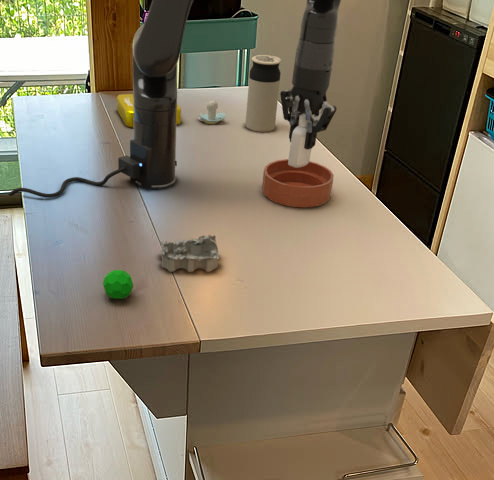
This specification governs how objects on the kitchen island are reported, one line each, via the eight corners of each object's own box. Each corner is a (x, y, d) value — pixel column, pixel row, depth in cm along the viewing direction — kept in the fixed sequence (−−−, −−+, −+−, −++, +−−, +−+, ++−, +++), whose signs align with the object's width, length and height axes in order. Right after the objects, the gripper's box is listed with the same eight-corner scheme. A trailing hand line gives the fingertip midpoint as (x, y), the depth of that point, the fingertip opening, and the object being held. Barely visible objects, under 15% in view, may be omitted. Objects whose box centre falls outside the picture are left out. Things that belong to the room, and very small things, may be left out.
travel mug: (250, 133, 188) (257, 63, 177) (241, 122, 194) (246, 54, 184) (278, 131, 190) (286, 62, 179) (268, 121, 196) (275, 54, 186)
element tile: (115, 109, 197) (115, 92, 195) (168, 107, 201) (168, 90, 199) (127, 128, 186) (127, 110, 183) (182, 125, 190) (183, 107, 187)
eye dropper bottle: (314, 166, 153) (323, 112, 146) (291, 168, 151) (298, 113, 145) (305, 159, 157) (313, 105, 150) (282, 160, 155) (289, 106, 148)
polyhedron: (123, 285, 123) (122, 261, 121) (138, 298, 120) (138, 274, 118) (98, 294, 121) (97, 270, 118) (113, 307, 118) (112, 283, 115)
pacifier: (194, 118, 195) (200, 125, 190) (195, 95, 192) (201, 102, 187) (220, 117, 197) (226, 124, 192) (221, 94, 193) (228, 101, 189)
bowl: (299, 215, 149) (302, 193, 147) (247, 190, 158) (249, 169, 155) (344, 196, 158) (347, 175, 155) (292, 174, 167) (295, 153, 164)
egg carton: (216, 253, 134) (218, 234, 132) (218, 274, 128) (220, 254, 126) (160, 251, 134) (160, 232, 131) (159, 272, 128) (160, 252, 125)
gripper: (274, 56, 144) (265, 138, 154) (329, 74, 135) (315, 160, 145) (299, 51, 148) (288, 131, 158) (353, 69, 140) (338, 152, 150)
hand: (301, 144), depth 152 cm, fingers closed on eye dropper bottle, 3 cm apart
